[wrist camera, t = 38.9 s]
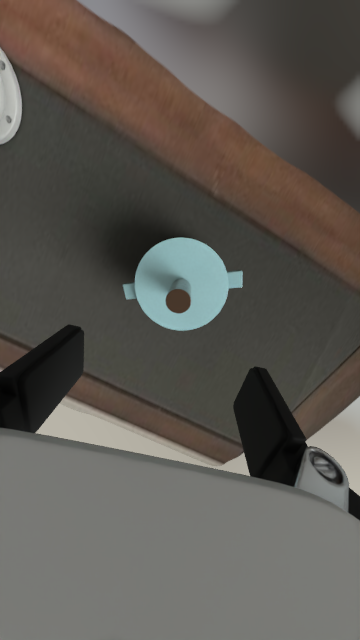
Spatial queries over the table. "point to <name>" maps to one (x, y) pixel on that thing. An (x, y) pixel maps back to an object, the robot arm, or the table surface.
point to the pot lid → (181, 283)
